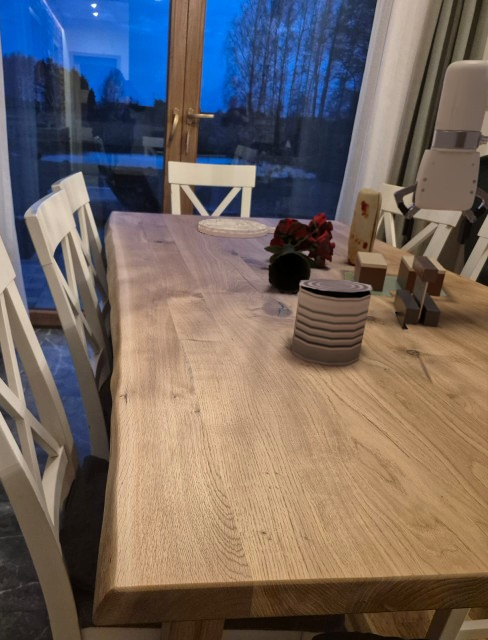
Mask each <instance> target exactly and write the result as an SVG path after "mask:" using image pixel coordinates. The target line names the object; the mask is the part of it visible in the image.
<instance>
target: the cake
mask: <svg viewBox="0 0 488 640" xmlns="http://www.w3.org/2000/svg"><path fill="white" fill-rule="evenodd" d="M414 256H415V255H401V258H400V261H399V262H400V263H399V267H398V272H397V276H396V277H397V281H398V283H399V285H400V287H401V289H402V290H409V291H410V293H411V295H412V294H413V289H414V285H415V280H416V276H417V274H416V272H415V271H414V269H413V268H412V265H413V260H414ZM428 258H429V260H430V261H431V262H432V263H433V264H434V265H435V266H436V268H437V269H438V274H437V278H436V282H435V283H433V282H428V285H427V290H426V292H428V294H429V295H430V297H440V296H441V295H440V293H441V289H442V290H443V285H444V281H445V277H446V272H447V269H445V268H444V267H443V265H441V263H440V262H439V261H438V260H437V259H436V258H435V257H428Z"/></svg>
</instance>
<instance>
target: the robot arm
mask: <svg viewBox="0 0 488 640" xmlns="http://www.w3.org/2000/svg"><path fill="white" fill-rule="evenodd" d="M486 112H488V59H486V60H483V59H463V60H457V61H454V62H452V63H450V64H449V65H448V67H447V68H446V71H445V74H444V77H443V84H442V87H441V94H440V98H439V103H438V109H437V114H436V118H435V124H434V130H433V136H432V140H431V146H430V149H425V150H424V153H423V155H422V158H421V161H420V164H419V167H418V169H417V170H418V171H417V174H416V178H415V182H414V183H412V184H410V185H407V186H405V187H403V188H401V189H399V190H397V191H396V190H395V191H394V193H393V199H394V201H395V204H396V207H397V209H398V210H399V211H400V213H401V214H402V215H403V217H404V220H403V225H402V231H401V236H403V239H404V240H405V242H410V241H411V240H412V235H413V230H414V229H413V228H414V225H415V219H414V216H415V215H417V214H418V212H419V211H421V210H429V211H430V210H431V211H451V212H461V213H462V216H463V217H464V218H463V219H462V220H461V222H460V226H459V231H458V235H457V239H456V242H457V243H459V244H460V245H462V246H463V245H465V244H466V240H469V239H470V236H471V231H472V228H473V223H475V222H476V221H477V220H478V219H479V218H480V217H482V216H483V215H485V214H486V212H487V210H488V192H487V191H485V190H483V189H482V188H481V187H479V186H478V180H479V175H480V163H481V162H480V161H481V152H480V151H477V150H478V149H479V147H480V146H483V145H487V143H488V135H484V134H483V132H482V128H483V124H484V119H485V114H486ZM410 194H412V196H411V203H412V204H411V205H410V206H409V207H407V206H406V204H405V200H404V198H405V197H406V196H408V195H410ZM476 197H478V198H480V199H481V200H482V202H481V204H480V205H478V207H476V208H475V209H474V210H472V207H473V205H474V202H475V198H476Z"/></svg>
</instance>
